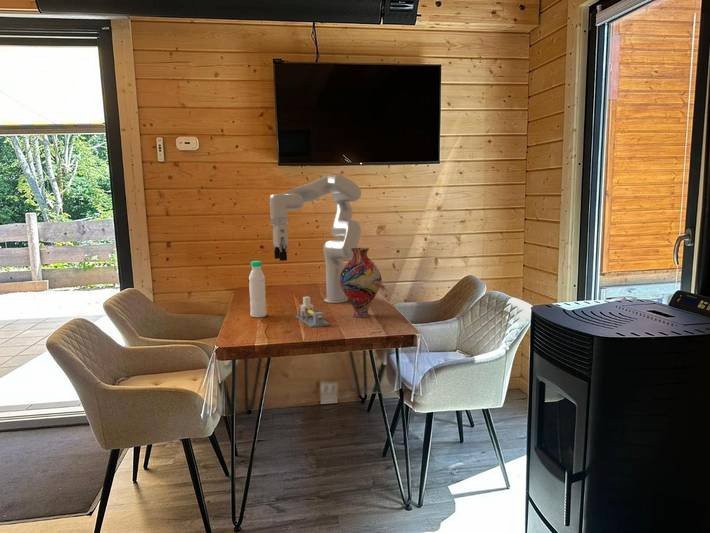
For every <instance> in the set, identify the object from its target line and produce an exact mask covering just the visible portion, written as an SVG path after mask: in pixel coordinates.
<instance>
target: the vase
mask: <svg viewBox="0 0 710 533" xmlns="http://www.w3.org/2000/svg"><path fill="white" fill-rule="evenodd" d="M351 250H352V252H353V257H352V258H351V259H349V261H348V262H347V263H346V264H344V268H343V270H342V272H341V275H340V279H339V285H340V287H341V289H342V290H343V292H344V293H345V295H346V296H347V298H348V301H349V302H350V303H349V304H351V306H352V308H353V311H354V313H352V314H351V316H352V317H354V318H368V317H370V316H371V313H369V308H370V306H371V304H372V302H373V300H374V299H375V297H376V296H377V294H378V292H379V290H380V289H381V287H382V284H383V283H382V282H383V280H382V274H381V272H380V270H379V269H378V268H379V267H378V266H377V265H376V264H375V263H374V262H373V261H372V260H371V259H370V258H369V257H368V252H369V250H370V248H368V247H357V248H352V249H351Z"/></svg>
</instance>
